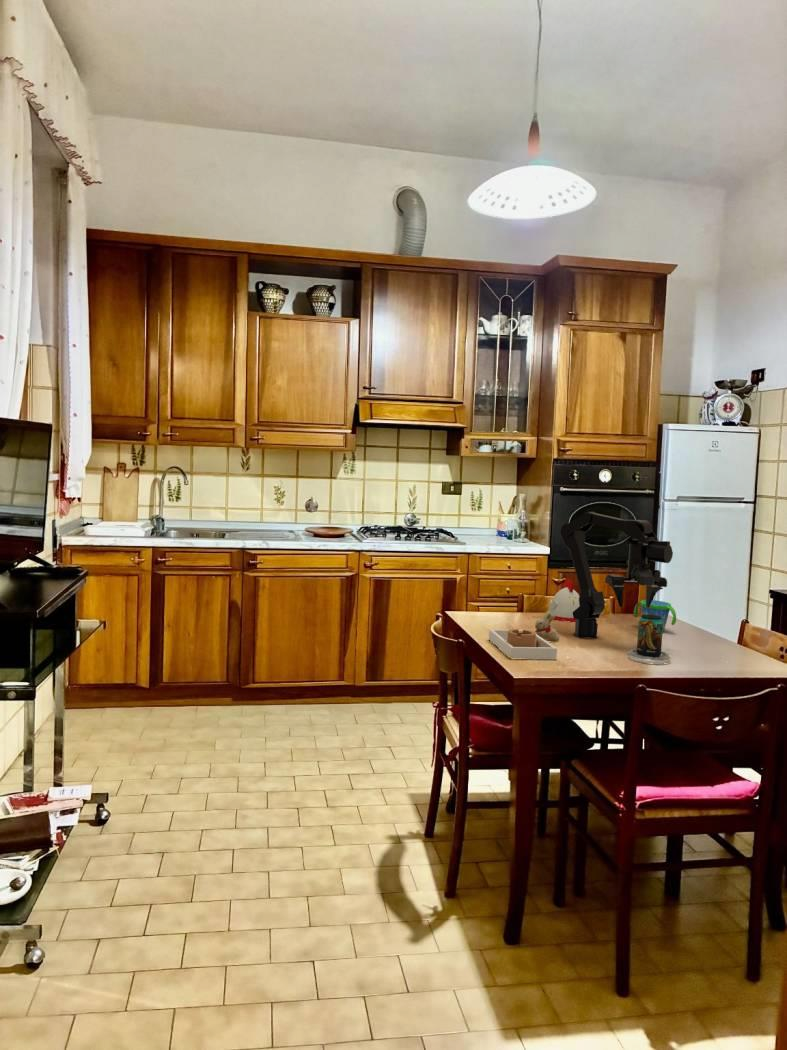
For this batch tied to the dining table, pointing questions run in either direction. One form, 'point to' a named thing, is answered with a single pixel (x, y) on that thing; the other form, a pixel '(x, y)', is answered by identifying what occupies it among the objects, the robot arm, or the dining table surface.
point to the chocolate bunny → (546, 628)
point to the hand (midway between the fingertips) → (634, 607)
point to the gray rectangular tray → (540, 651)
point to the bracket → (521, 638)
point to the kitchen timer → (564, 603)
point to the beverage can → (650, 636)
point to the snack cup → (656, 610)
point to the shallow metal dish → (645, 659)
